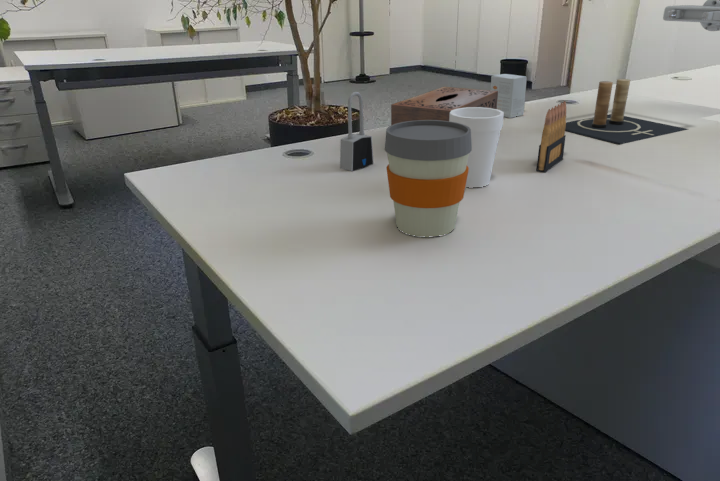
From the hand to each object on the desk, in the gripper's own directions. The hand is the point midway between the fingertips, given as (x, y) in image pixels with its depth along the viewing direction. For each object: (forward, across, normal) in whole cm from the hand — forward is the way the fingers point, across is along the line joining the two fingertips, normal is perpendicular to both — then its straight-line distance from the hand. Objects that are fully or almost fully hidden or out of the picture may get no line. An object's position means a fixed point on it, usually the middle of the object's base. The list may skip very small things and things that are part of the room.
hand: (686, 15), depth 138 cm
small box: (+34, -25, +25) cm, 49 cm away
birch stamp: (+20, 0, +25) cm, 32 cm away
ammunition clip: (+59, +15, +25) cm, 66 cm away
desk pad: (+23, +3, +25) cm, 34 cm away
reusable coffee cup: (+98, +27, +25) cm, 105 cm away
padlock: (+92, -6, +25) cm, 96 cm away
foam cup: (+79, +15, +25) cm, 84 cm away
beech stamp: (+26, 0, +25) cm, 36 cm away
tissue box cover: (+65, -12, +25) cm, 71 cm away
